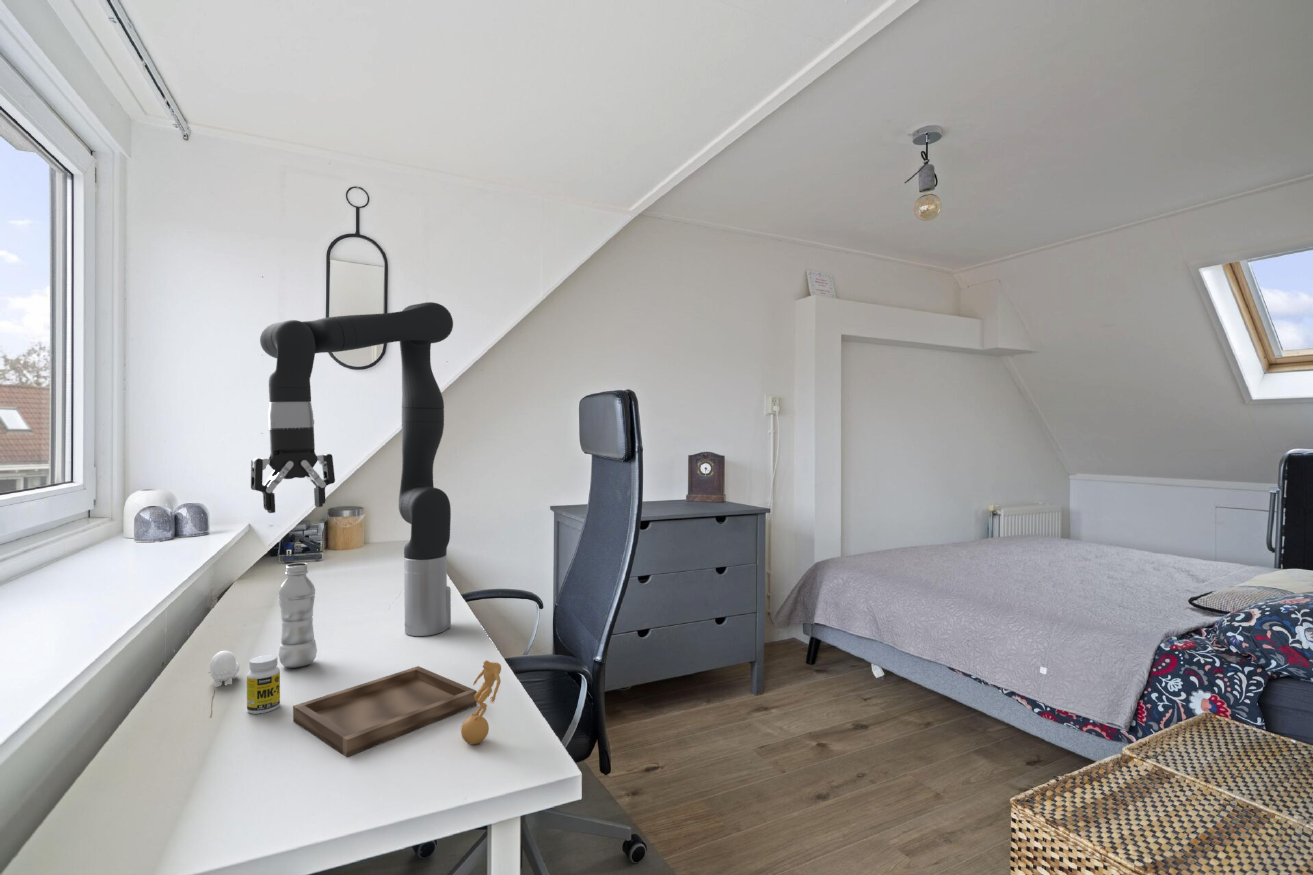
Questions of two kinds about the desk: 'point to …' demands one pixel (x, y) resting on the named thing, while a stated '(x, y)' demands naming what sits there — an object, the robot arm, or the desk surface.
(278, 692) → the supplement bottle
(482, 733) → the figurine
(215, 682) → the toy creature
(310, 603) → the plastic bottle
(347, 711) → the walnut tray
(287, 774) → the desk surface
